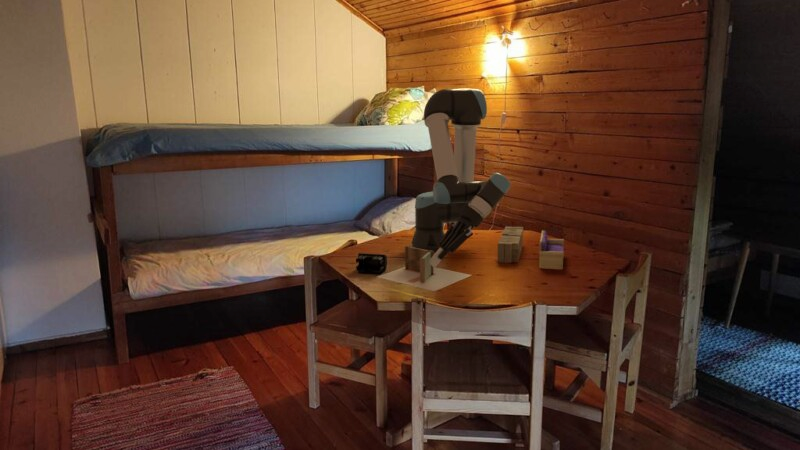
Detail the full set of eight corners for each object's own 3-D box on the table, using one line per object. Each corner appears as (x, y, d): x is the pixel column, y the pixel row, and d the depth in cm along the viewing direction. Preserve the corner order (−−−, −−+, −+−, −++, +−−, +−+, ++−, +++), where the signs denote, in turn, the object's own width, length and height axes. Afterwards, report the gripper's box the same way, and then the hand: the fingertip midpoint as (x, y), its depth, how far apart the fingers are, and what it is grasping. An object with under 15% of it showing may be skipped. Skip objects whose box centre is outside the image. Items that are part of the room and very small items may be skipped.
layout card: (376, 278, 197) (376, 276, 197) (415, 264, 213) (415, 262, 213) (434, 292, 181) (434, 291, 181) (471, 276, 198) (471, 274, 197)
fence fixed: (404, 269, 205) (403, 246, 203) (407, 268, 207) (407, 245, 205) (431, 275, 198) (431, 252, 196) (434, 274, 199) (434, 251, 197)
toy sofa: (563, 270, 204) (564, 243, 201) (538, 269, 206) (539, 241, 204) (563, 255, 223) (564, 230, 221) (540, 254, 226) (541, 229, 223)
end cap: (387, 270, 206) (387, 252, 204) (382, 276, 199) (381, 257, 198) (361, 269, 208) (360, 251, 207) (355, 274, 201) (354, 256, 200)
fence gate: (427, 274, 198) (427, 251, 196) (431, 274, 197) (431, 252, 196) (419, 282, 189) (419, 259, 187) (424, 282, 188) (424, 259, 187)
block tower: (517, 266, 213) (523, 245, 241) (518, 244, 211) (524, 225, 239) (496, 264, 216) (504, 243, 243) (497, 243, 213) (505, 224, 241)
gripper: (492, 222, 189) (446, 276, 187) (473, 215, 201) (430, 266, 199) (478, 208, 186) (432, 263, 184) (459, 202, 198) (416, 253, 196)
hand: (431, 264), depth 192 cm, fingers closed
